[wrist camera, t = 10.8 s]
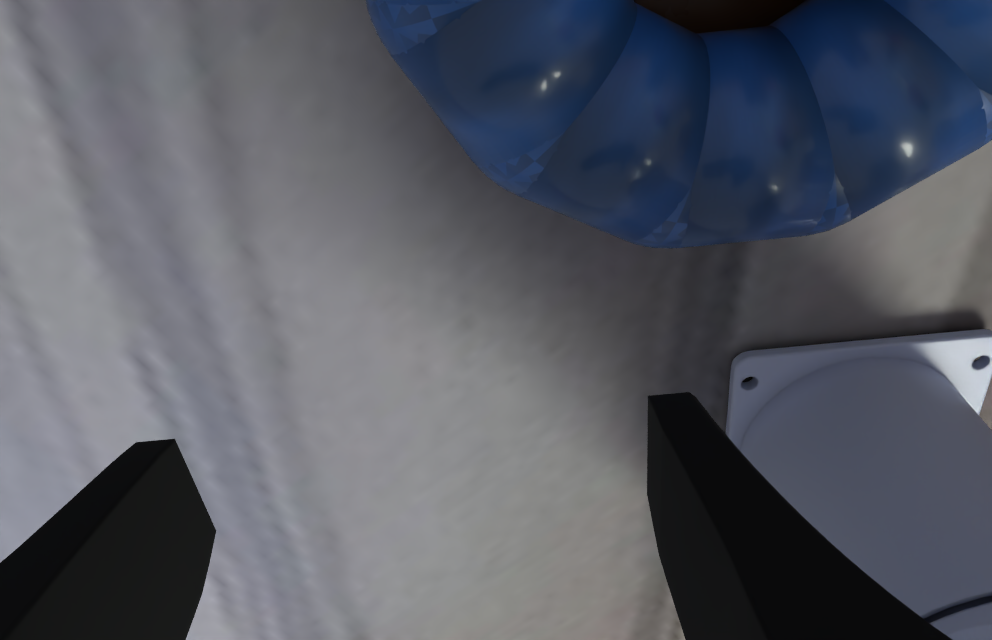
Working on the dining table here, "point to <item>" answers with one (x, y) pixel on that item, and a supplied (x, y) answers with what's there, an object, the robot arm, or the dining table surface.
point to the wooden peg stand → (720, 13)
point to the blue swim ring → (701, 107)
